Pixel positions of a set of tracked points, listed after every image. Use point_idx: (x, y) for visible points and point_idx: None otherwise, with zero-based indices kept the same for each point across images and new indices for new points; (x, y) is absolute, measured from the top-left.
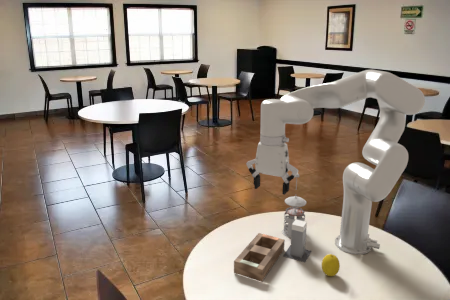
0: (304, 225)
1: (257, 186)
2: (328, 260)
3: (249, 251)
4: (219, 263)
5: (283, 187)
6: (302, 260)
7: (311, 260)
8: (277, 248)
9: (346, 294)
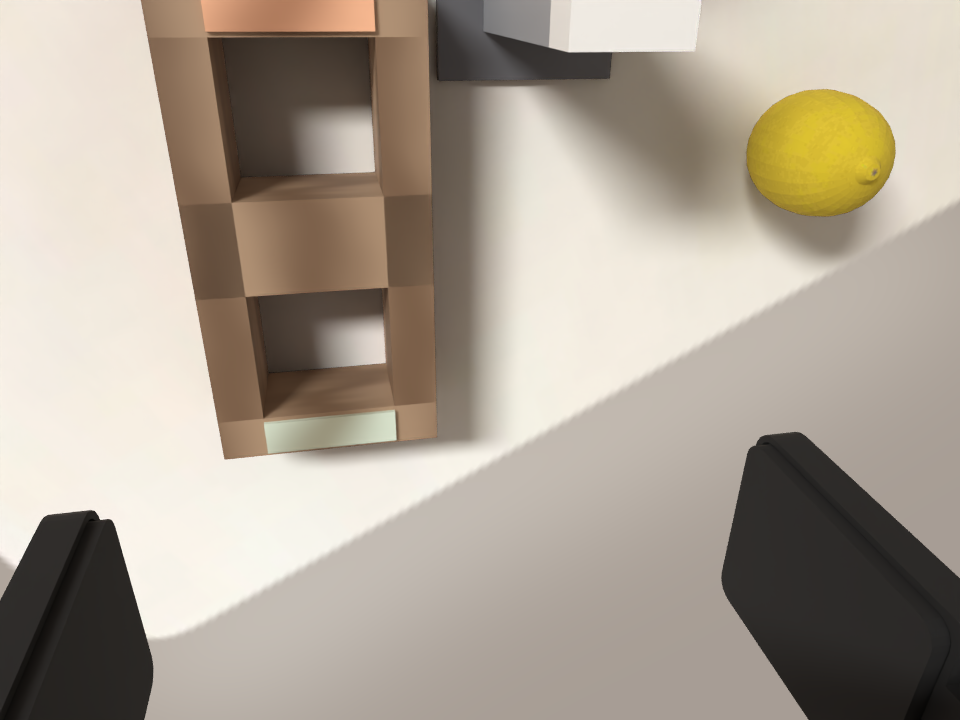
0: (700, 2)
1: (136, 673)
2: (836, 208)
3: (246, 302)
4: (82, 381)
5: (820, 712)
6: (587, 64)
7: None
8: (425, 157)
9: (852, 252)
